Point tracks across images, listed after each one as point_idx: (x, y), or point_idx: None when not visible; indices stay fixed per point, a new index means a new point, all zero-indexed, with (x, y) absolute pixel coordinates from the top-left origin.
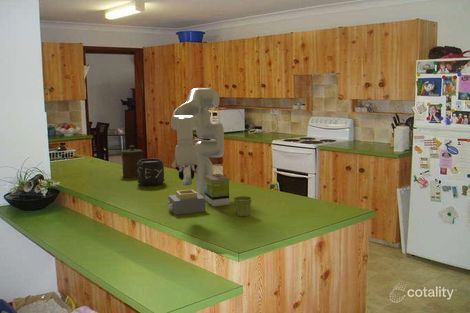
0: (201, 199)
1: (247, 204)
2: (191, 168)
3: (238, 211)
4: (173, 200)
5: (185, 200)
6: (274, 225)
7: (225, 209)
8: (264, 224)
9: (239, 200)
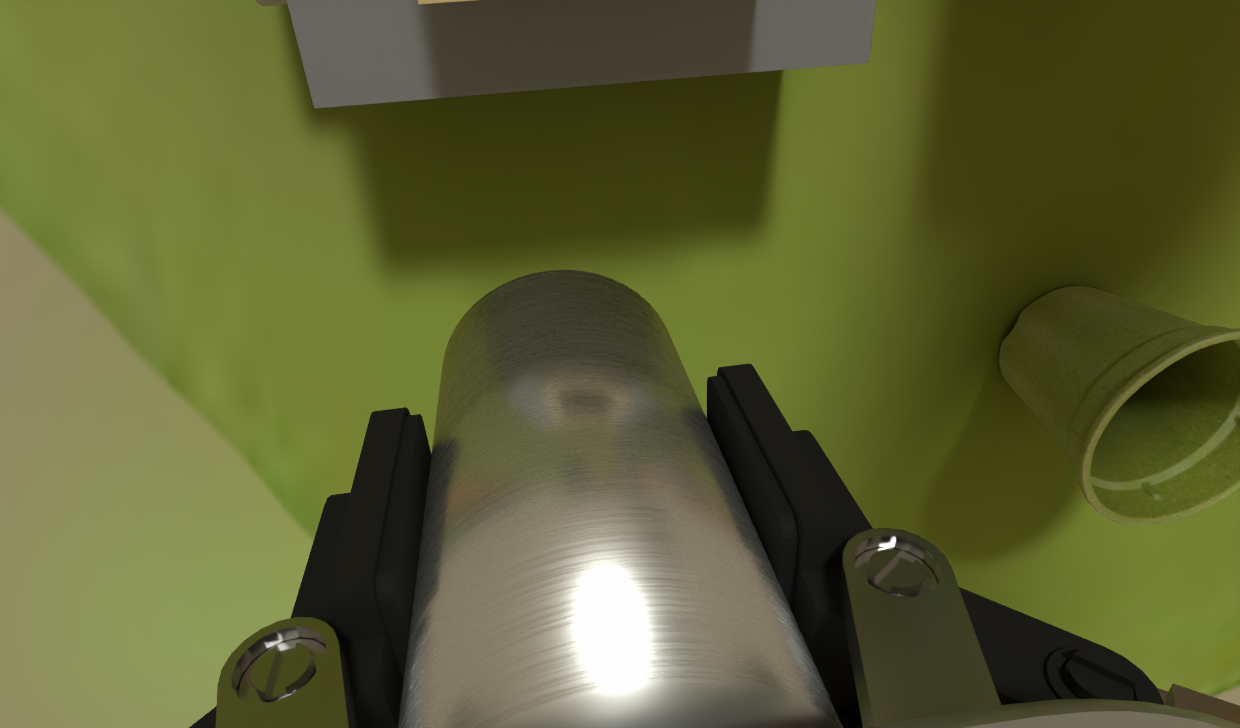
0: (798, 65)
1: (1142, 469)
2: (853, 623)
3: (1023, 398)
4: (291, 14)
5: (519, 91)
6: (1064, 619)
7: (1038, 39)
8: (1027, 592)
9: (1100, 512)
